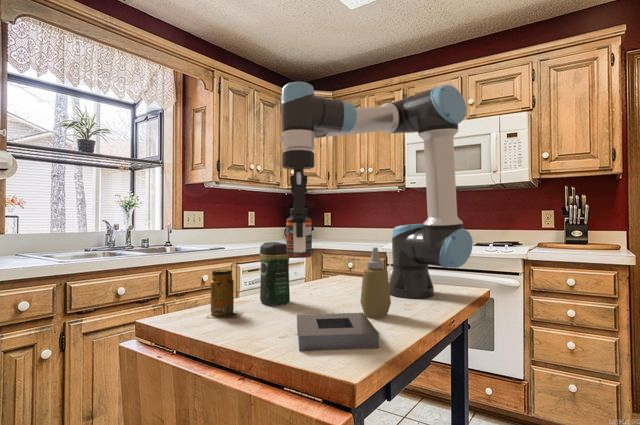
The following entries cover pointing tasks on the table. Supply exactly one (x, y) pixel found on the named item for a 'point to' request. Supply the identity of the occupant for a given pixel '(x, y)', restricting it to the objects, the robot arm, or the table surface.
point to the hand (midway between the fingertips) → (299, 250)
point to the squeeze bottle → (375, 288)
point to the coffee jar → (274, 274)
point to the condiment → (222, 295)
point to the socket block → (336, 332)
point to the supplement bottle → (290, 237)
